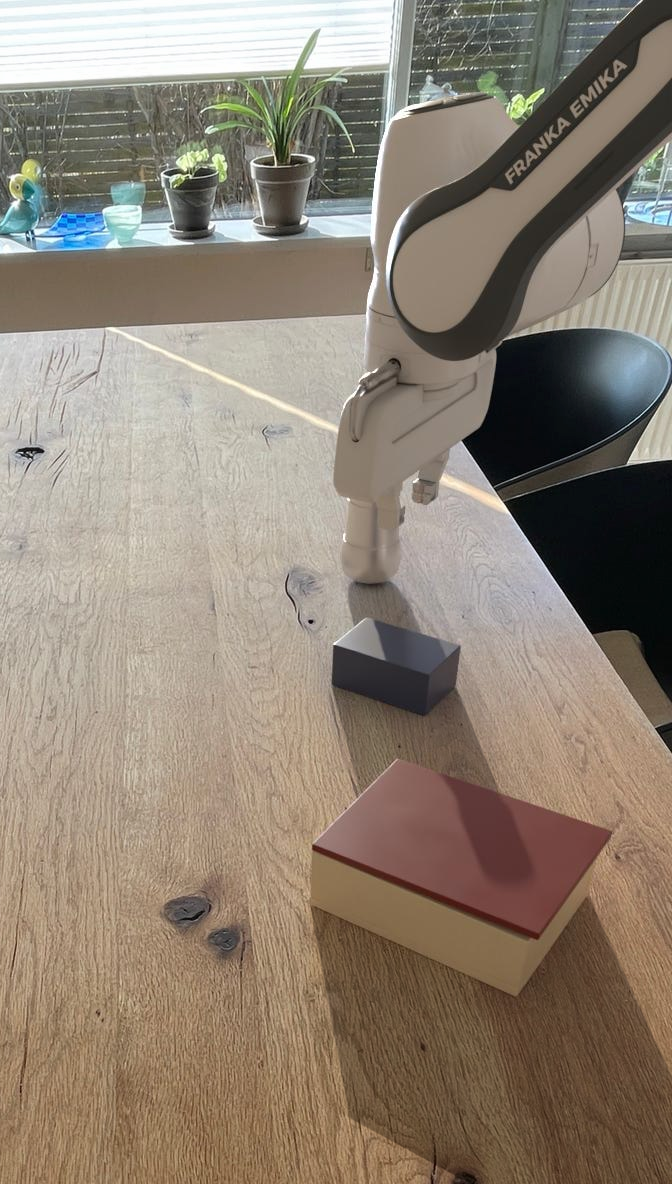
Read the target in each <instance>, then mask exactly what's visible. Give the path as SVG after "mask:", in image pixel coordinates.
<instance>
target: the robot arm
mask: <svg viewBox="0 0 672 1184" xmlns="http://www.w3.org/2000/svg"><path fill="white" fill-rule="evenodd" d="M671 141H672V0H640V1H639V2H638V3H637V4H636V5H635V6H634V7H633V8H632V9H631V10H630V11H629V12H628V13H627V14H626V15H625V16H624V17H622V19H621V20H620V21H619V22H618V23H617V24H616V25H615V26H614V27H613V28H612V29H611V30H610V31H609V32H608V33H607V34H606V35H605V36H604V37H603V38H602V40H601V41H599V43H598V44H596V46H594V48H593V49H591V51H590V52H589V53H588V54H587V55H586V56H585V57H584V58H583V59H582V60H581V61H580V62H579V63H578V64H577V65H576V66H575V67H574V69H572V70H571V72H570V73H569V74H568V75H567V76H566V77H565V78H564V79H563V80H562V81H561V82H560V83H559V84H558V85H557V86H556V88H554V90H553V91H552V92H551V93H550V94H549V95H548V96H547V97H546V98H545V99H544V100H543V101H542V102H541V103H540V104H539V105H538V106H537V107H536V109H534V110H533V111H532V113H531V114H530V115H528V117H527V118H526V119H524V121H523V122H522V123H521V124H520V125H518V124H517V123H516V122H515V121H514V120H513V119H512V118H511V116H510V115H509V114H508V112H507V110H506V109H505V107H504V105H503V103H502V102H501V100H499V98H498V97H496V96H494V95H492V94H489V93H487V92H467V93H462V94H457V95H452V96H446V97H442V98H438V99H434V100H433V99H432V100H428V101H423V102H421V103H417V104H410V105H407V106H406V107H404V108H403V109H401V110H399V111H398V112H397V113H396V114H395V115H394V116H393V117H392V118H391V119H390V121H389V122H388V124H387V127H386V129H385V132H384V134H383V138H382V141H381V145H380V149H379V152H378V157H377V158H378V159H377V165H376V171H375V178H374V185H373V187H374V188H373V196H372V208H371V222H370V223H371V225H370V245H371V251H372V257H373V264H374V266H373V267H374V268H373V277H372V280H371V281H372V282H371V285H370V288H369V290H368V294H367V300H366V318H365V337H364V353H363V354H364V355H363V367H364V369H365V371H367V373H365V374H363V376H362V377H361V378H360V379H359V381H358V387H357V388H356V390H355V392H354V393H352V394H351V395H350V396H349V397H348V398H347V400H346V402H344V405H343V408H342V410H341V413H340V418H339V423H338V428H337V429H338V430H337V435H336V436H337V437H336V445H335V451H334V453H335V454H334V461H333V472H332V483H333V487H334V489H335V491H336V493H337V495H339V497H342V498H346V499H348V498H349V499H353V500H357V501H362V502H367V503H373V502H376V505H377V507H378V518H377V524H378V526H379V527H380V528H382V529H385V530H389V531H394V530H395V529H397V528H398V527H399V528H400V527H401V526H402V525H403V524H404V522H405V514H406V505H404V504H401V501H400V500H401V499H399V498H400V496H399V493H400V492H402V490H403V484H404V482H405V481H406V480H408V479H409V478H410V477H412V476H413V475H415V474H416V473H418V474H417V479H415V480H414V481H413V482H412V489H411V490H412V494H411V500H412V502H414V503H415V504H421V505H422V506H423V505H424V506H428V505H430V504H431V503H432V502H434V501H435V500H436V499H437V498H438V497H439V489H440V481H441V479H442V477H443V474H444V471H445V469H446V466H447V464H448V461H449V458H450V452H451V449H452V448H453V447H454V446H456V445H457V444H459V443H460V442H462V441H463V440H464V439H465V438H466V437H468V436H470V435H471V434H473V433H474V432H475V431H477V430H479V429H480V428H481V427H482V424H483V422H484V421H485V418H486V415H487V413H488V410H489V406H490V401H491V396H492V391H493V385H494V378H495V373H496V367H497V366H496V364H497V349H498V348H499V346H501V345H502V344H503V341H504V340H505V338H508V337H510V336H513V335H515V334H517V333H519V332H521V331H524V330H526V329H528V328H531V327H533V326H535V325H538V324H540V323H543V322H545V321H547V320H548V319H550V318H552V317H554V316H557V315H559V314H561V313H563V312H565V311H567V310H570V309H573V308H574V307H576V306H578V305H579V304H581V303H584V302H585V301H586V300H587V299H589V298H592V296H594V295H595V294H597V293H598V292H599V291H600V290H601V289H602V288H603V287H605V285H606V284H607V283H608V281H609V280H610V279H611V277H612V276H613V274H614V272H615V270H616V269H617V267H618V264H619V261H620V260H621V257H622V254H623V249H624V245H625V238H626V216H625V215H626V214H625V209H624V204H623V200H622V198H621V195H620V192H619V190H618V188H619V187H620V186H621V185H623V184H624V182H625V181H627V180H628V179H629V177H631V176H632V175H633V174H634V173H635V172H636V171H637V170H638V169H639V168H640V167H641V166H643V165H644V164H645V163H646V162H647V161H648V160H649V159H650V158H652V156H654V155H655V154H656V153H657V152H658V151H660V150H661V149H662V148H663V147H665V146H666V145H667V144H669V143H670V142H671ZM400 494H401V493H400Z"/></svg>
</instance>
